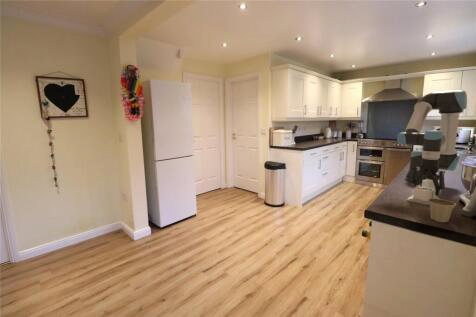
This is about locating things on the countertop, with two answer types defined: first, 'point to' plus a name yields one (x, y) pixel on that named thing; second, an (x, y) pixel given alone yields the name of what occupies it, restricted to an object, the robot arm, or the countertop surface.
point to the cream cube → (423, 193)
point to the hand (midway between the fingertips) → (425, 198)
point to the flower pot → (440, 209)
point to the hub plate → (419, 200)
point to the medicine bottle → (429, 182)
